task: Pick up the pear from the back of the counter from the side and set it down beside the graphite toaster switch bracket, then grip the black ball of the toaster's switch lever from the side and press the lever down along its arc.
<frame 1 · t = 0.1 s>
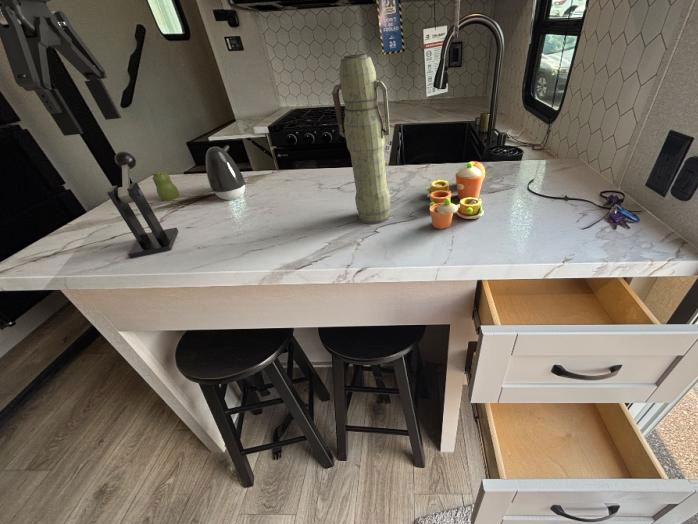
hand: (95, 126, 62), 28 cm above the counter, tool pointing down, fingers open, 13 cm apart
toy tea set: (454, 209, 90), on the counter
pear: (174, 203, 108), on the counter
toaster switch: (156, 244, 86), on the counter
clementine: (470, 186, 102), on the counter
thermos: (374, 217, 90), on the counter
toaster lever: (126, 176, 80), point 16 cm above the counter, hinge at 28.0°
pump dispenser: (233, 197, 109), on the counter
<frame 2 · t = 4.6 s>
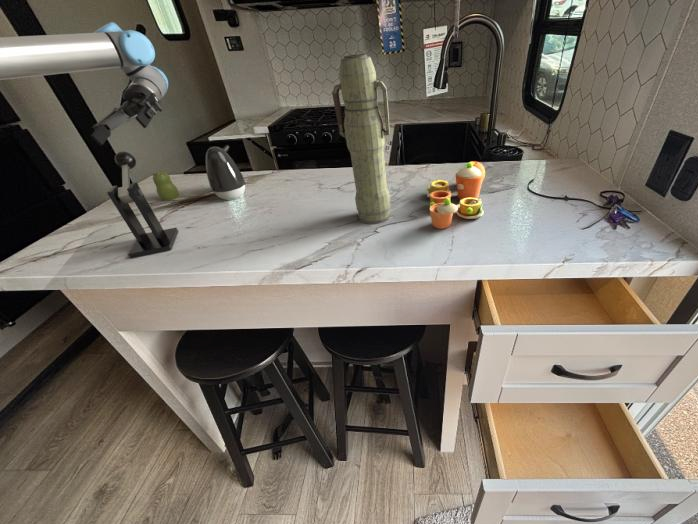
hand: (118, 131, 88), 23 cm above the counter, tool horizontal, fingers open, 13 cm apart
nothing on the counter moved.
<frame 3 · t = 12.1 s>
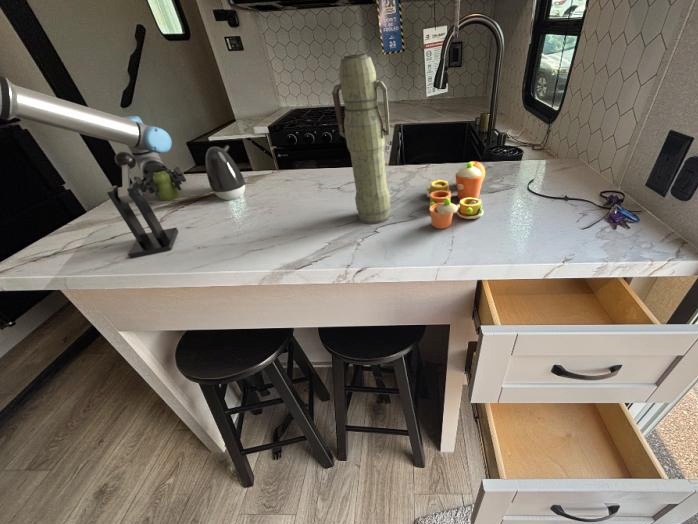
hand: (167, 188, 101), 6 cm above the counter, tool horizontal, fingers closed on pear, 5 cm apart
pear: (174, 203, 108), on the counter, touching gripper
everything else where it was.
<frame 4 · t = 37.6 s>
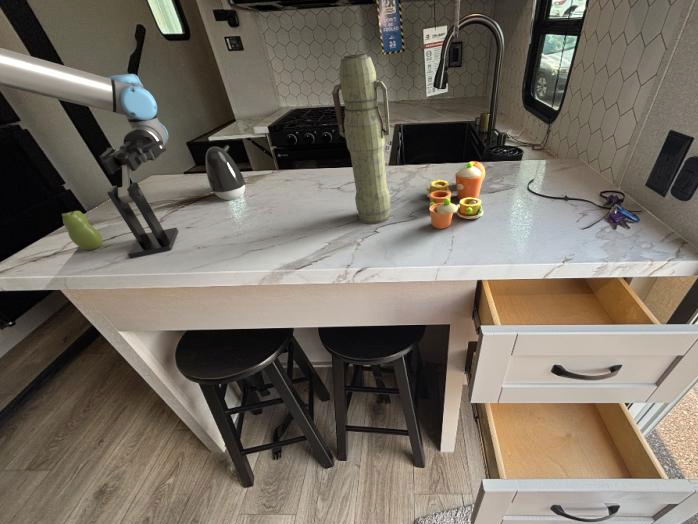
hand: (119, 166, 78), 18 cm above the counter, tool horizontal, fingers closed on toaster lever, 4 cm apart
pear: (95, 248, 87), on the counter
toaster lever: (126, 176, 80), point 16 cm above the counter, hinge at 28.0°, touching gripper
everything else where it was.
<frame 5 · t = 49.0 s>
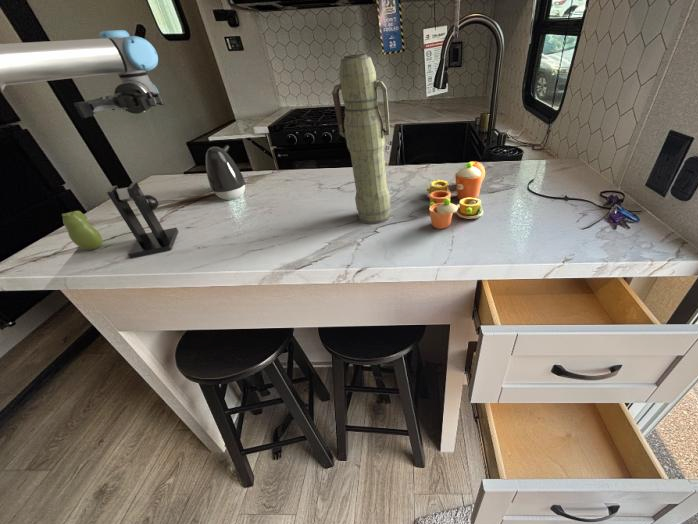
hand: (111, 108, 84), 28 cm above the counter, tool horizontal, fingers open, 13 cm apart
toaster lever: (139, 199, 83), point 10 cm above the counter, hinge at -30.4°
everything else where it was.
at the end: toaster lever at -30° (first picture: +28°); pear inside the target area on the counter beside the toaster switch (0.1 cm from its centre), on the counter; pear tilted 0° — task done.
